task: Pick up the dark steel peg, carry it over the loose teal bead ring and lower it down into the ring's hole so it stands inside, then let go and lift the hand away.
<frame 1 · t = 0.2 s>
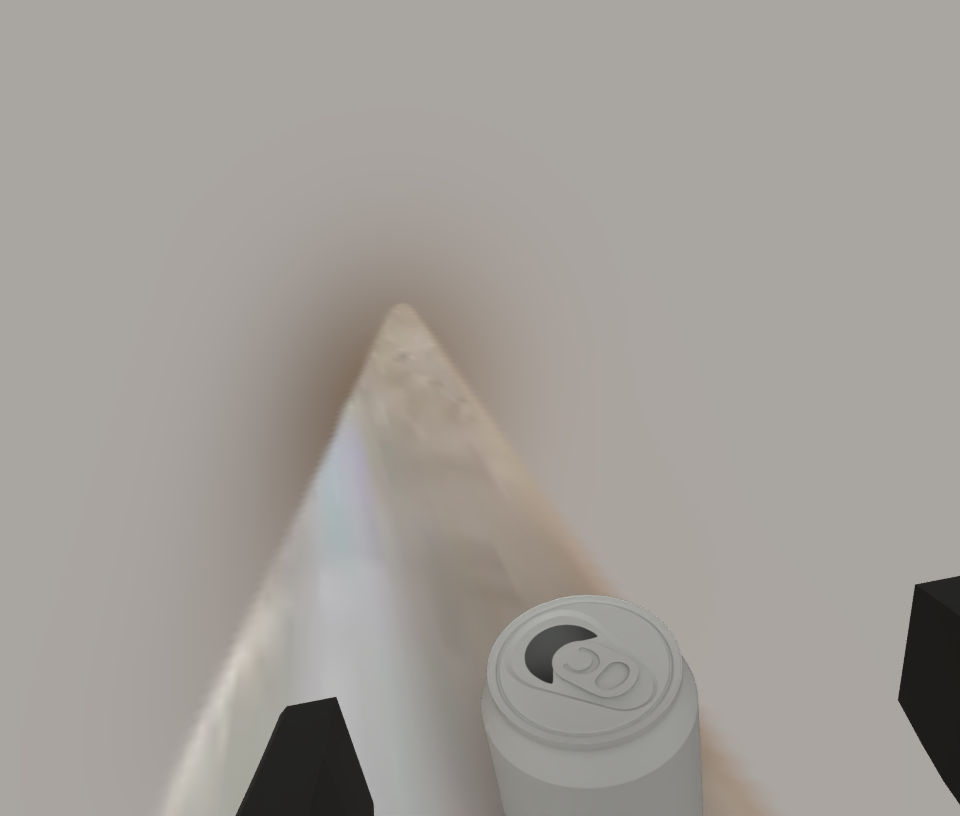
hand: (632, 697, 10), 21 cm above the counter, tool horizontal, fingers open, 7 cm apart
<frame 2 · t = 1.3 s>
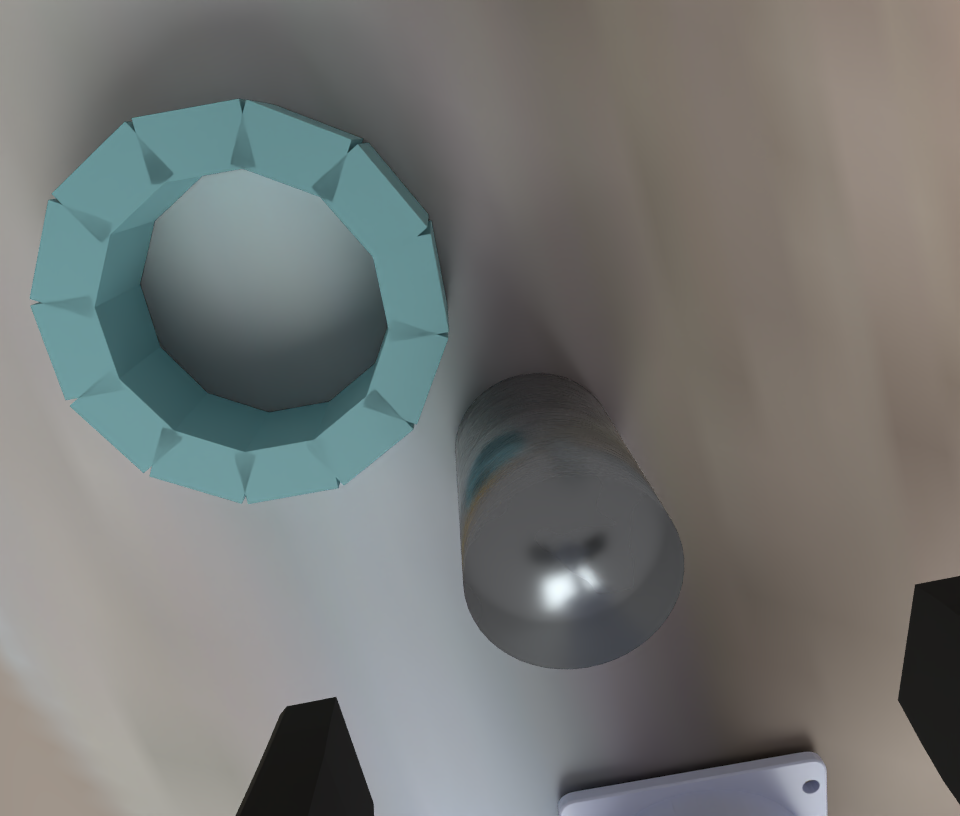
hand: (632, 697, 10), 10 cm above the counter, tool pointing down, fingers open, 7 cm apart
steel peg: (534, 449, 20), on the counter
teal bead ring: (269, 294, 18), on the counter
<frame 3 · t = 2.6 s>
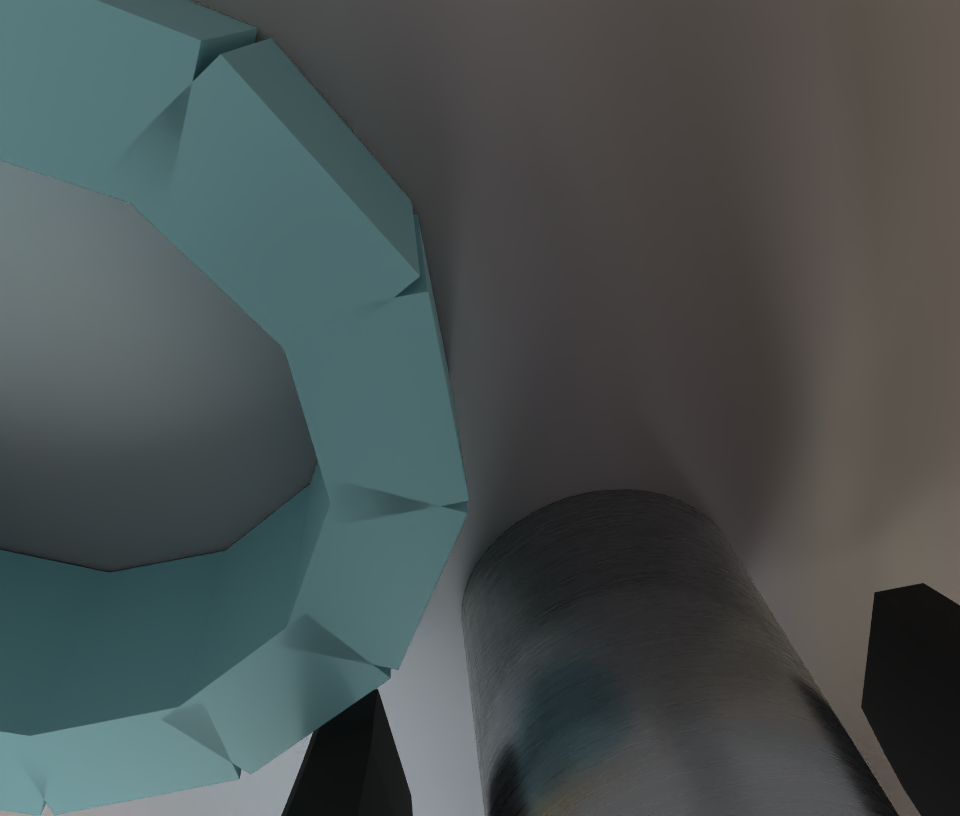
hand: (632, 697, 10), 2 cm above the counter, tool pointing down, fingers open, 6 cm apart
steel peg: (600, 606, 11), on the counter
teal bead ring: (80, 366, 9), on the counter
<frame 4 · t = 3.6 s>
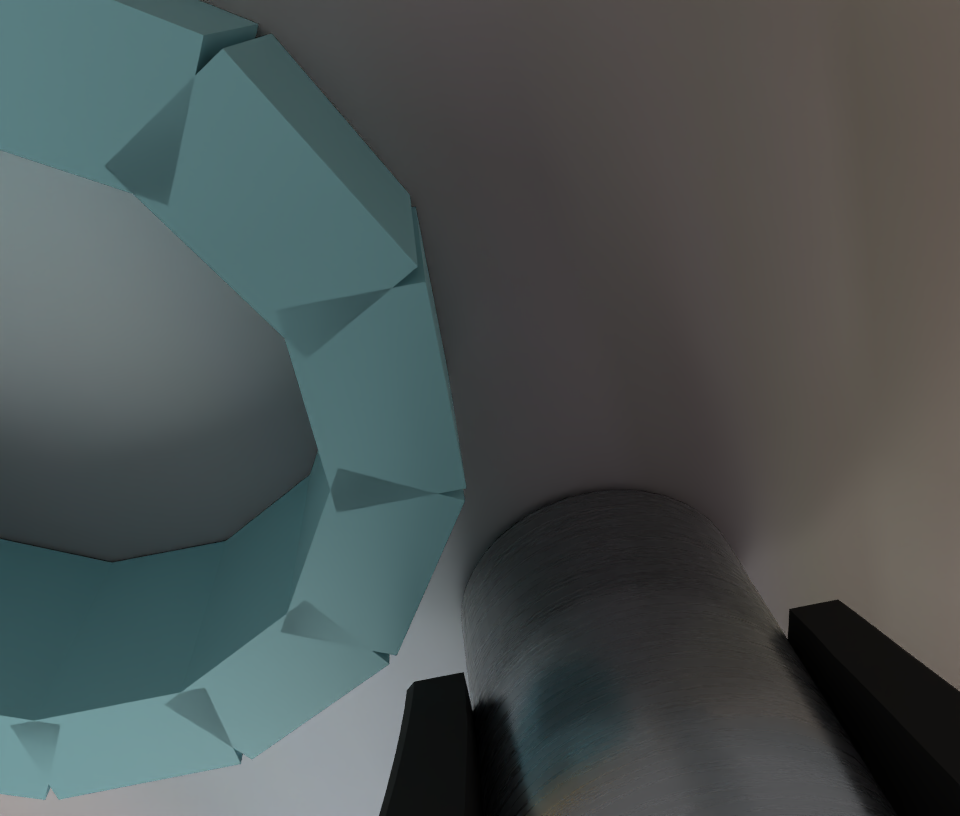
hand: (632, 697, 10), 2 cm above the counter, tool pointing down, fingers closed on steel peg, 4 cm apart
steel peg: (600, 606, 11), on the counter, touching gripper
teal bead ring: (83, 358, 9), on the counter
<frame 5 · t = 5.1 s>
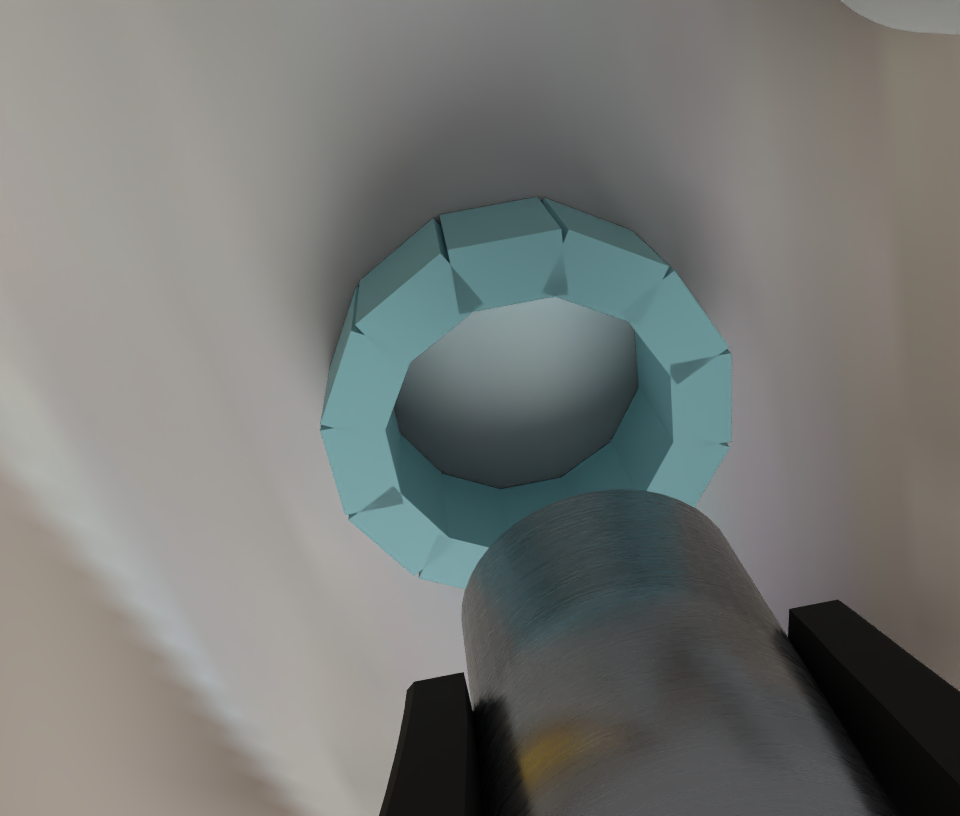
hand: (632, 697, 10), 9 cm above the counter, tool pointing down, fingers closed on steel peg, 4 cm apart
steel peg: (600, 606, 11), point 7 cm above the counter, touching gripper
teal bead ring: (515, 381, 17), on the counter
when the fingers open (3 cm above the counter, at t = 6.9 s): steel peg drops 2 cm, resting in teal bead ring.
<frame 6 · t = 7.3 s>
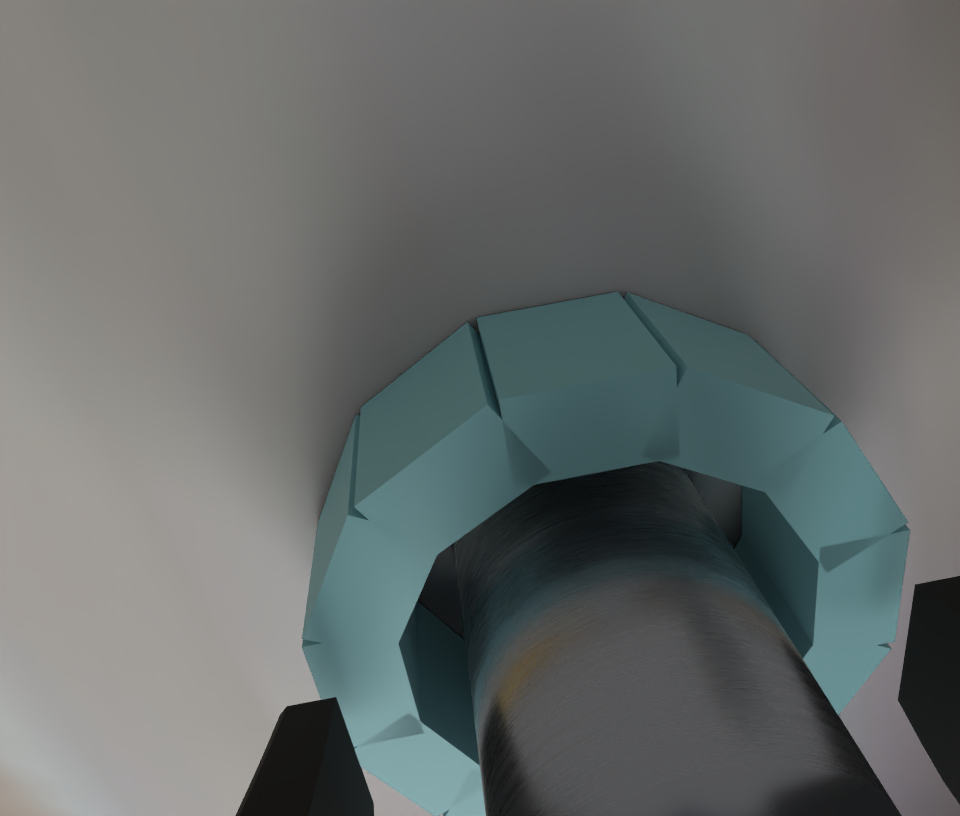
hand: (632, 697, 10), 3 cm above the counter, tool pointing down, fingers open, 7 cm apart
steel peg: (574, 529, 13), resting in teal bead ring
teal bead ring: (574, 532, 13), on the counter
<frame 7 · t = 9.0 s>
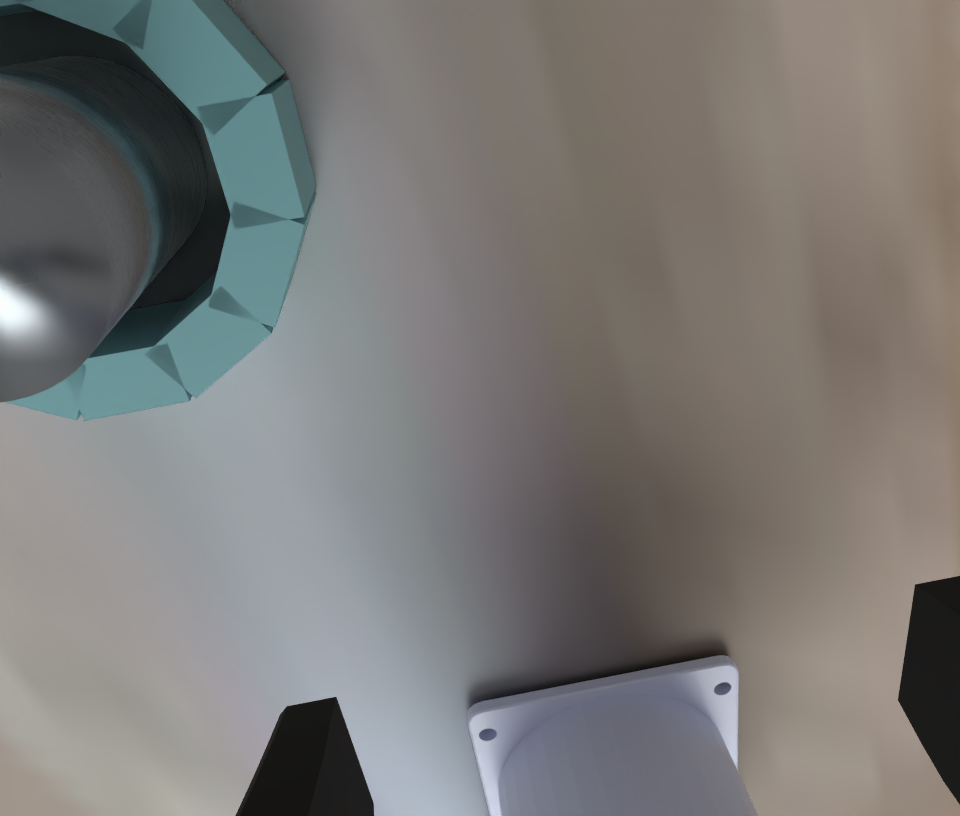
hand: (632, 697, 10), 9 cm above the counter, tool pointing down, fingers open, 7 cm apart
steel peg: (99, 169, 15), resting in teal bead ring
teal bead ring: (98, 171, 15), on the counter
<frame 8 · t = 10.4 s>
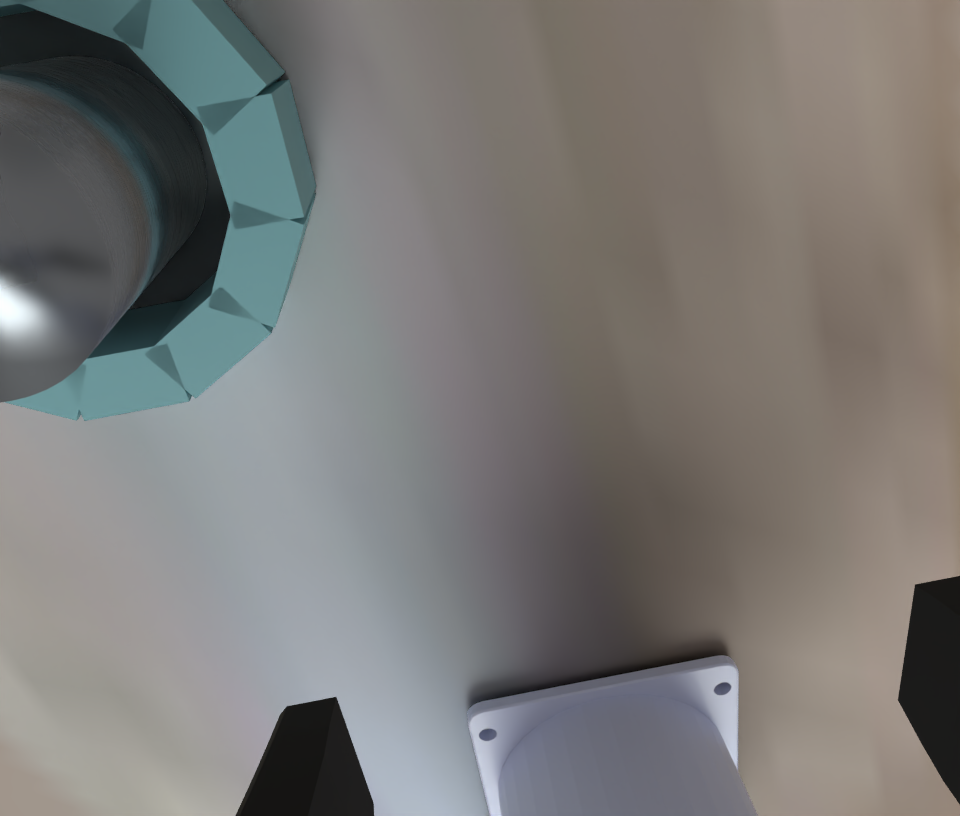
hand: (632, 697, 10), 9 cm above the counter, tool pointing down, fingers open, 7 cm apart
steel peg: (99, 169, 15), resting in teal bead ring
teal bead ring: (98, 171, 15), on the counter
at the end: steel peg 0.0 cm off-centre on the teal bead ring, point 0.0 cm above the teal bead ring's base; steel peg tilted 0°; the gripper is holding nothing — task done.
